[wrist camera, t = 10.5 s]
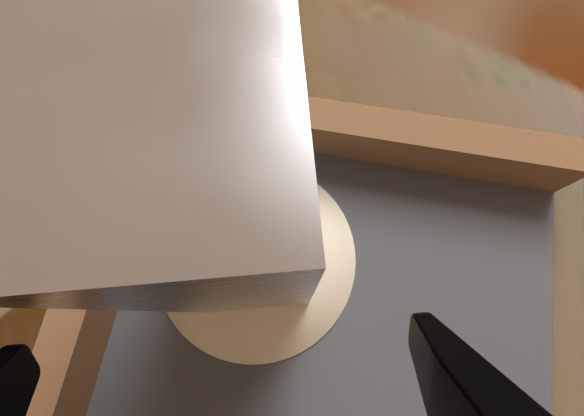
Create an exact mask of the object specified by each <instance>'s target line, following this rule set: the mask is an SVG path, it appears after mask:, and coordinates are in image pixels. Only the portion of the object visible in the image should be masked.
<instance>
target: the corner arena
mask: <svg viewBox="0 0 584 416" xmlns="http://www.w3.org/2000/svg"><path fill="white" fill-rule="evenodd" d="M308 105H309V114H310V123H311V133H312V142H313V151H314V161H315V170H316V179H317V189H318V198H319V207H320V217H321V226H322V236H323V245H324V254H325V264H326V269H325V271H324V274H323V276H322V278H321V280H320V282H319V284H318V286H317V288H316V290H315V292H314V294H313V296H312V298H311V300H310V303H309V304H301V305H290V306H278V307H267V308H255V309H244V310H232V311H221V312H209V313H195V312H157V311H120V310H83V309H47V311H46V314H45V316H44V319H43V322H42V325H41V328H40V331H39V334H38V337H37V339H36V342H35V345H34V348H33V351H32V354H33V355H34V357H35V359H36V360H37V362H38V364H39V366H40V371H41V373H40V378H39V381H38V384H37V386H36V389H35V392H34V395H33V397H32V400H31V403H30V406H29V408H28V411H27V414H26V416H427V413H426V409H425V406H424V402H423V398H422V395H421V391H420V387H419V383H418V379H417V376H416V372H415V368H414V364H413V361H412V357H411V353H410V349H409V344H408V335H409V325H410V317H411V314H413V313H420V312H429V313H431V314H433V315H434V316H435V317H436V318H437V319H438V320H440V321H441V322H442V323H443V324H444V325H446V326H447V327H448V328H449V329H450V330H452V331H453V332H454V333H455V334H456V335H458V336H459V337H460V338H461V339H462V340H464V341H465V342H466V343H467V344H468V345H469V346H471V347H472V348H473V349H474V350H475V351H477V352H478V353H479V354H480V355H481V356H483V357H484V358H485V359H486V360H487V361H489V362H490V363H491V364H492V365H493V366H494V367H496V368H497V369H498V370H499V371H500V372H502V373H503V374H504V375H505V376H506V377H508V378H509V379H510V380H511V381H512V382H514V383H515V384H516V385H517V386H518V387H520V388H521V389H522V390H523V391H524V392H525V393H527V394H528V395H529V396H530V397H531V398H533V399H534V400H535V401H536V402H537V403H539V404H540V405H541V406H542V407H543V408H545V409H546V410H547V411H548V412H549V413H551V414H552V363H553V238H554V192H555V191H557V190H559V189H561V188H563V187H566V186H568V185H570V184H572V183H574V182H576V181H578V180H580V179H582V178H584V138H581V137H575V136H568V135H562V134H555V133H548V132H542V131H535V130H529V129H522V128H515V127H509V126H502V125H495V124H489V123H482V122H476V121H469V120H462V119H456V118H449V117H443V116H436V115H429V114H423V113H416V112H410V111H403V110H396V109H390V108H383V107H376V106H370V105H363V104H357V103H350V102H343V101H337V100H330V99H324V98H317V97H310V96H308Z"/></svg>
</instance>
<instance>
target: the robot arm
mask: <svg viewBox="0 0 584 416" xmlns="http://www.w3.org/2000/svg"><path fill="white" fill-rule="evenodd" d="M408 344H409V349H410V353H411V357H412V361H413V364H414V368H415V372H416V376H417V379H418V383H419V387H420V391H421V395H422V398H423V402H424V406H425V409H426V413H427V416H553V415H552V414H551V413H549V412H548V411H547V410H546V409H545V408H543V407H542V406H541V405H540V404H539V403H537V402H536V401H535V400H534V399H533V398H531V397H530V396H529V395H528V394H527V393H525V392H524V391H523V390H522V389H521V388H520V387H518V386H517V385H516V384H515V383H514V382H512V381H511V380H510V379H509V378H508V377H506V376H505V375H504V374H503V373H502V372H500V371H499V370H498V369H497V368H496V367H494V366H493V365H492V364H491V363H490V362H489V361H487V360H486V359H485V358H484V357H483V356H481V355H480V354H479V353H478V352H477V351H475V350H474V349H473V348H472V347H471V346H469V345H468V344H467V343H466V342H465V341H464V340H462V339H461V338H460V337H459V336H458V335H456V334H455V333H454V332H453V331H452V330H450V329H449V328H448V327H447V326H446V325H444V324H443V323H442V322H441V321H440V320H438V319H437V318H436V317H435V316H434V315H433V314H431V313H429V312H420V313H413V314H411V317H410V325H409V335H408ZM40 373H41V371H40V366H39V364H38V362H37V360H36V359H35V357H34V355H33V354H32V352H31V350H30V348H29V347H28V346H27V345H25V344H13V345H6V346H4V347H2V348H1V349H0V416H26V414H27V411H28V408H29V406H30V403H31V400H32V397H33V395H34V392H35V389H36V386H37V384H38V381H39V378H40Z"/></svg>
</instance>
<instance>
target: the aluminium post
mask: <svg viewBox="0 0 584 416" xmlns="http://www.w3.org/2000/svg"><path fill="white" fill-rule="evenodd" d="M325 269H326V264H325V254H324V245H323V236H322V226H321V217H320V207H319V198H318V189H317V179H316V170H315V161H314V151H313V142H312V133H311V123H310V114H309V105H308V95H307V86H306V77H305V67H304V58H303V48H302V39H301V30H300V20H299V11H298V2H297V0H0V307H9V308H45V309H83V310H120V311H157V312H195V313H209V312H221V311H232V310H244V309H255V308H267V307H278V306H290V305H301V304H309V303H310V300H311V298H312V296H313V294H314V292H315V290H316V288H317V286H318V284H319V282H320V280H321V278H322V276H323V274H324V271H325Z"/></svg>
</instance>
